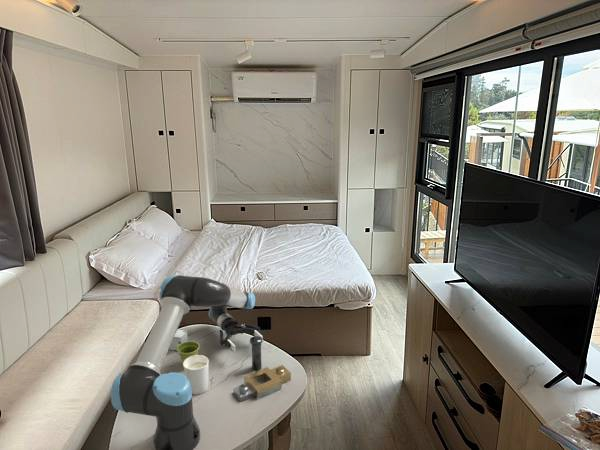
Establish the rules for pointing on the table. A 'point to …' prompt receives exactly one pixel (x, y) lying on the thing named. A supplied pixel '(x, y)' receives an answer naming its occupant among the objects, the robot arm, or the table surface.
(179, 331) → the skincare box
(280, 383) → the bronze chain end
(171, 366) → the table surface
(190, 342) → the plant pot
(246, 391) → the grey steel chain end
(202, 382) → the candle holder
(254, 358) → the black pin
